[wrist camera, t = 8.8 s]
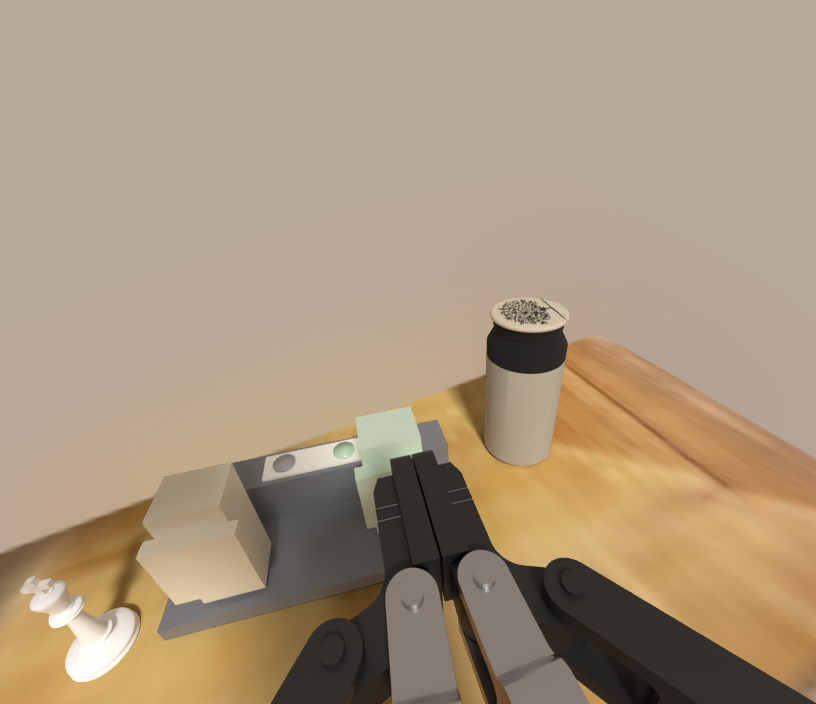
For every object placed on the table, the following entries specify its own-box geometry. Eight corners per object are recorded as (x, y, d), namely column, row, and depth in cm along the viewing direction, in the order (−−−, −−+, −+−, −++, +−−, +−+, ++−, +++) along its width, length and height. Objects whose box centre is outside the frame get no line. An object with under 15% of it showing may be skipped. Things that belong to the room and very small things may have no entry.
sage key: (371, 547, 32) (351, 463, 27) (366, 499, 37) (347, 419, 31) (439, 530, 33) (433, 445, 28) (425, 485, 38) (417, 404, 32)
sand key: (190, 622, 28) (121, 542, 23) (208, 558, 33) (154, 478, 27) (272, 600, 29) (225, 518, 24) (279, 541, 34) (241, 460, 28)
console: (165, 640, 29) (122, 597, 26) (206, 513, 39) (180, 470, 36) (475, 556, 33) (476, 509, 29) (439, 460, 43) (436, 416, 39)
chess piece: (89, 618, 31) (15, 554, 26) (149, 602, 32) (89, 537, 27) (54, 691, 27) (-43, 631, 22) (124, 671, 28) (46, 609, 23)
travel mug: (490, 469, 41) (496, 332, 32) (479, 422, 48) (481, 299, 39) (560, 466, 41) (586, 326, 31) (539, 419, 47) (556, 293, 38)
